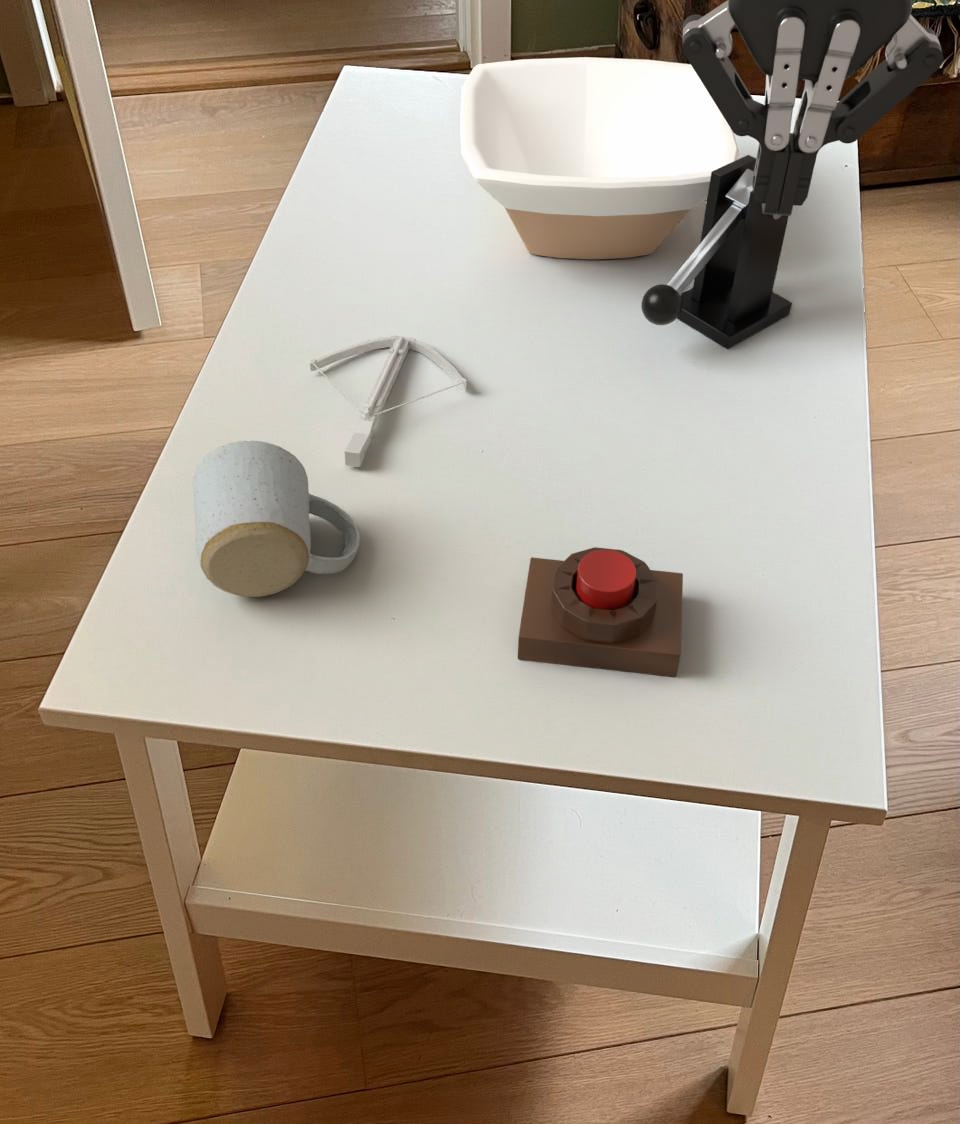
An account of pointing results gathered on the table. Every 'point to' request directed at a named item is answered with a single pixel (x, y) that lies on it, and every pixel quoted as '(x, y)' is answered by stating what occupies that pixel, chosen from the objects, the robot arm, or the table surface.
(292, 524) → the ceramic mug
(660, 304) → the lever
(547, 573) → the button block
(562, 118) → the bowl
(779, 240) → the bracket
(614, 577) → the button
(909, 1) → the robot arm
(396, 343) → the crossbow
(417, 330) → the table surface
